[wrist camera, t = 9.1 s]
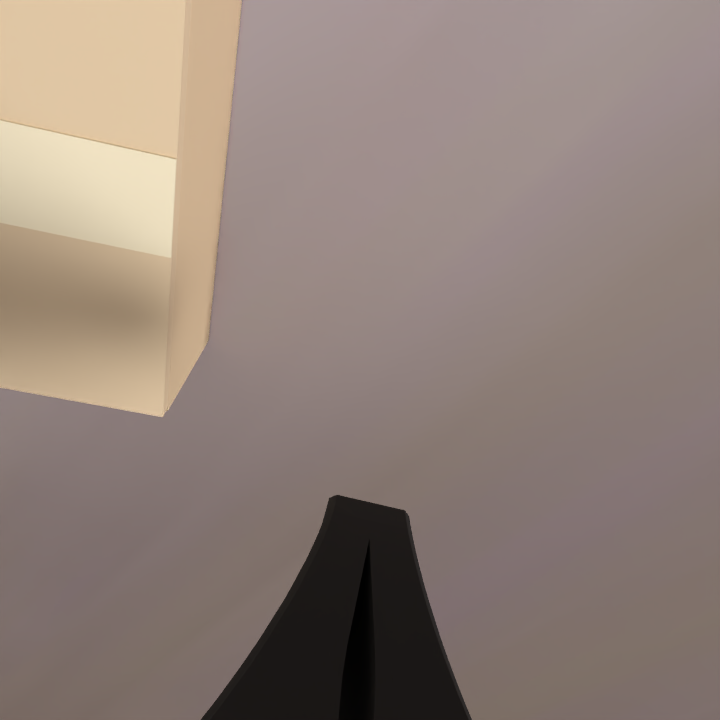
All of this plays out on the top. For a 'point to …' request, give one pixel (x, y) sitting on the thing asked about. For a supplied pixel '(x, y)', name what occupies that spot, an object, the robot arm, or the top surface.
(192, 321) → the carton
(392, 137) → the top surface
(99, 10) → the lid
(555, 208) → the top surface
